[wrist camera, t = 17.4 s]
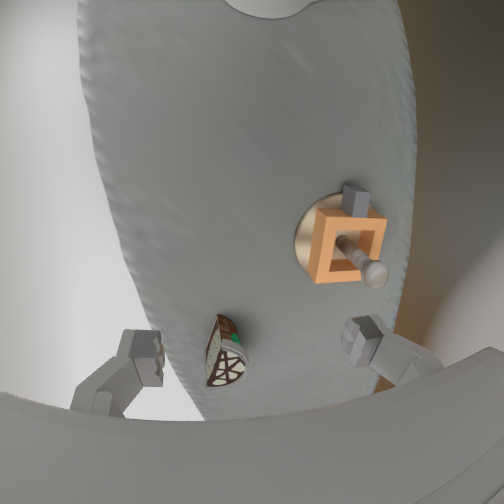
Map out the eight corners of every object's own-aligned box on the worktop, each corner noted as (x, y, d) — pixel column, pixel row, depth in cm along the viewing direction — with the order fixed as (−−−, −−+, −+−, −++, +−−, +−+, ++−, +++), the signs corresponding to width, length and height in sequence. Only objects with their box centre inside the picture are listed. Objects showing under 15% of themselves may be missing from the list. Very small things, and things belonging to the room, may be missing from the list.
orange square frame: (361, 268, 48) (372, 279, 44) (307, 271, 46) (315, 283, 42) (378, 188, 41) (392, 194, 38) (319, 182, 39) (330, 189, 36)
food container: (232, 357, 55) (237, 395, 46) (203, 353, 53) (205, 392, 44) (251, 313, 50) (261, 352, 41) (219, 307, 48) (223, 347, 40)
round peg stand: (299, 190, 41) (341, 223, 28) (383, 196, 44) (438, 226, 31) (288, 280, 48) (316, 336, 35) (365, 275, 51) (406, 320, 38)
